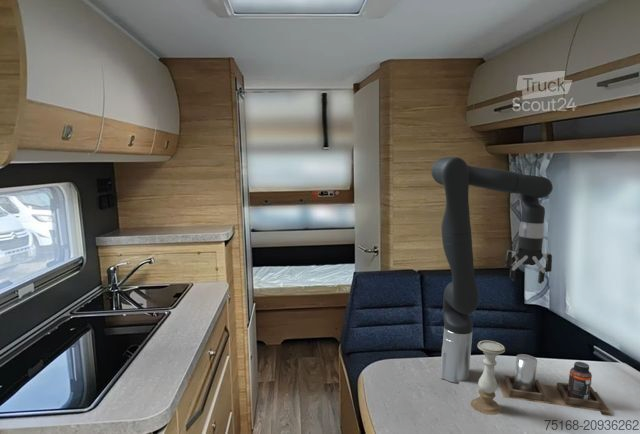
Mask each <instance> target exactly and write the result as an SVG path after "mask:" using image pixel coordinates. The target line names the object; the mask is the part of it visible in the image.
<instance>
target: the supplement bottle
mask: <svg viewBox="0 0 640 434" xmlns="http://www.w3.org/2000/svg"><path fill="white" fill-rule="evenodd" d="M568 375H569V376H568V383H567V384H568V396H569V397H571V398H578V399H586V400H589V396H590V388H591V387H592V386H591V385H592V380H593V379H592V378H593V375H592V372H591V371H590V365H589V364H588V363H587V362H583V361H575V362H574V364H573V367H571V368H570V370H569V374H568Z"/></svg>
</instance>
